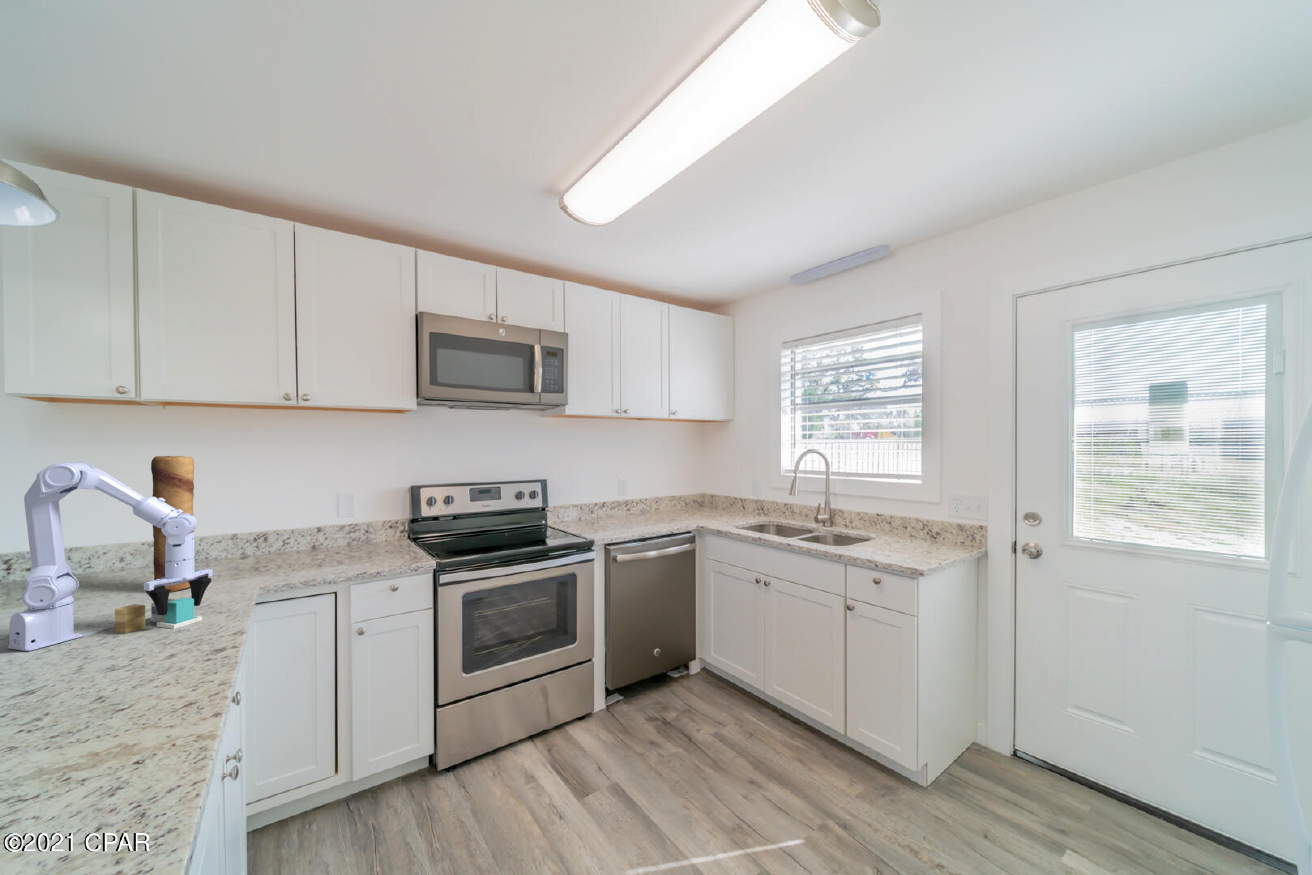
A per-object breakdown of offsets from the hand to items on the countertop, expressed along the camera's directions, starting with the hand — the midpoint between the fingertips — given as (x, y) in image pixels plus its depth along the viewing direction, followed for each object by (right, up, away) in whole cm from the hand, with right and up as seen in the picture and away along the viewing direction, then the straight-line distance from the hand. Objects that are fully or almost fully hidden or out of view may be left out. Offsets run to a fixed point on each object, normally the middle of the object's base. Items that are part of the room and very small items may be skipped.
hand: (179, 609), depth 133 cm
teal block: (0, -3, 0) cm, 3 cm away
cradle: (0, -4, 0) cm, 4 cm away
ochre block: (-9, -4, -5) cm, 10 cm away
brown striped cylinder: (-34, -5, +33) cm, 48 cm away
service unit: (-6, -4, +3) cm, 8 cm away
